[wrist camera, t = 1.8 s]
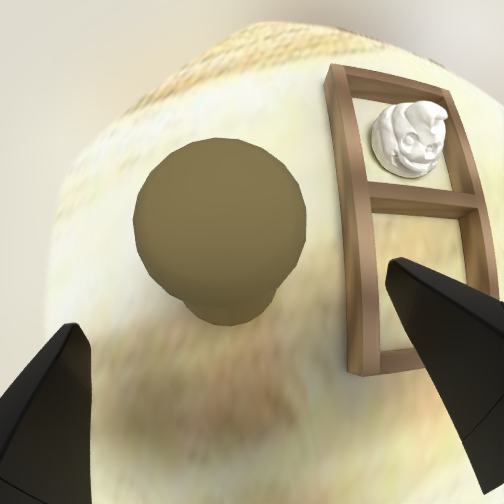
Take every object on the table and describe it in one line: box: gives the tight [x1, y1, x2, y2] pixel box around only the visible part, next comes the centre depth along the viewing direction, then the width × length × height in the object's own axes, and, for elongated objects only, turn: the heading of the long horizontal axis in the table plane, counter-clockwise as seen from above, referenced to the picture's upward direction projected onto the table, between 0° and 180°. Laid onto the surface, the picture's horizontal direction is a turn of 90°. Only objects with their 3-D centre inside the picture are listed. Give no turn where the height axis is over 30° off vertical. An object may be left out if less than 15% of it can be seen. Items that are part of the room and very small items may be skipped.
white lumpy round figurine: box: [372, 101, 448, 178], centre depth 19 cm, size 6×6×5 cm
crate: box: [324, 64, 500, 377], centre depth 19 cm, size 21×11×2 cm, turn 0°
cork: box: [133, 138, 306, 326], centre depth 13 cm, size 6×6×11 cm
